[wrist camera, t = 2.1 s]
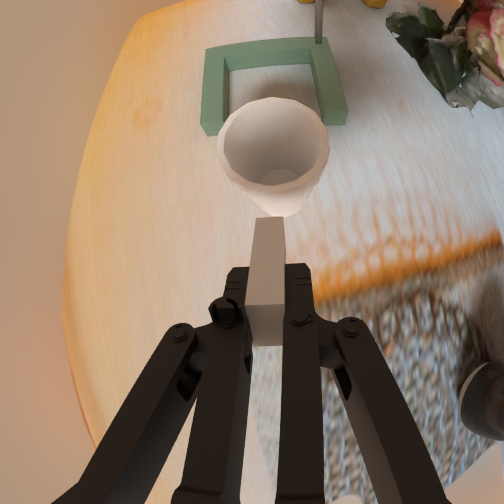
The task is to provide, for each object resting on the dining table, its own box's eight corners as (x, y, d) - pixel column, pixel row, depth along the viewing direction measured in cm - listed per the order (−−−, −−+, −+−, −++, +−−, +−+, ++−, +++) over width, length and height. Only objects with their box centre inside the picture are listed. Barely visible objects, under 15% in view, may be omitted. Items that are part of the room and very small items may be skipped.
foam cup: (274, 245, 35) (261, 216, 22) (229, 189, 37) (196, 139, 24) (334, 197, 34) (352, 147, 22) (287, 146, 36) (280, 82, 24)
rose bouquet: (462, 134, 33) (560, 3, 3) (371, 18, 38) (385, -104, 9) (534, 119, 30) (606, 41, 1) (456, 19, 35) (487, -68, 6)
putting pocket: (368, 124, 35) (398, 32, 18) (207, 136, 38) (157, 51, 21) (346, 51, 37) (354, -32, 20) (211, 62, 41) (177, -16, 23)
